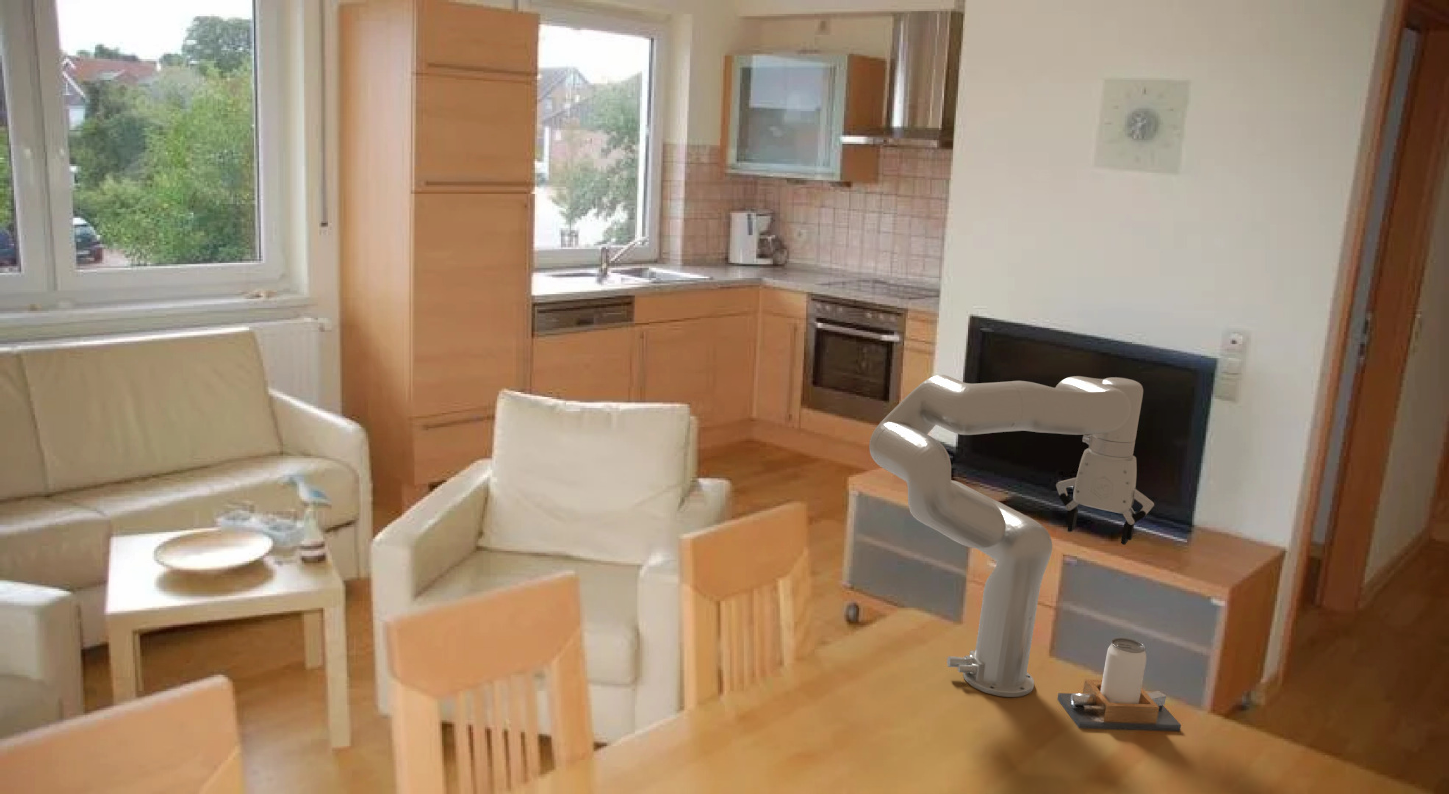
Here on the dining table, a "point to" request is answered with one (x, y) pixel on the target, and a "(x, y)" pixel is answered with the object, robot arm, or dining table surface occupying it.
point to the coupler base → (1117, 710)
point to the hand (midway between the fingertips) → (1097, 536)
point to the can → (1124, 671)
